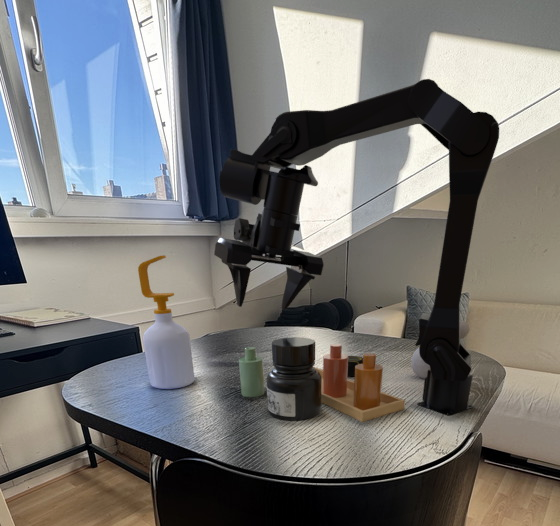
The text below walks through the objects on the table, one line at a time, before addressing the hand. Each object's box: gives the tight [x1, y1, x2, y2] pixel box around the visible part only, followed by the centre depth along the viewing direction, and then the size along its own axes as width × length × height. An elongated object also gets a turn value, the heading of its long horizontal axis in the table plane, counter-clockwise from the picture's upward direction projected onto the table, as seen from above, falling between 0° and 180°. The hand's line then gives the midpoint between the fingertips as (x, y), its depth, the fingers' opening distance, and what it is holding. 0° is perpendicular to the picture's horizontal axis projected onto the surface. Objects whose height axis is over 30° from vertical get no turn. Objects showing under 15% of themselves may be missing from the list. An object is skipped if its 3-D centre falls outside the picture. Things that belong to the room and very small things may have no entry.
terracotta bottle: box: [322, 343, 349, 398], centre depth 73 cm, size 4×4×9 cm
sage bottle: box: [238, 346, 265, 398], centre depth 76 cm, size 4×4×9 cm
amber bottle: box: [353, 352, 384, 411], centre depth 67 cm, size 4×4×9 cm
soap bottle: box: [137, 254, 195, 390], centre depth 81 cm, size 9×9×25 cm
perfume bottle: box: [410, 319, 470, 380], centre depth 81 cm, size 8×10×12 cm
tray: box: [313, 366, 406, 423], centre depth 75 cm, size 25×9×2 cm, turn 32°
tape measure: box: [347, 355, 363, 377], centre depth 87 cm, size 7×7×4 cm
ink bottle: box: [266, 336, 322, 422], centre depth 66 cm, size 10×9×12 cm
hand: (262, 307), depth 74 cm, fingers open, 9 cm apart
